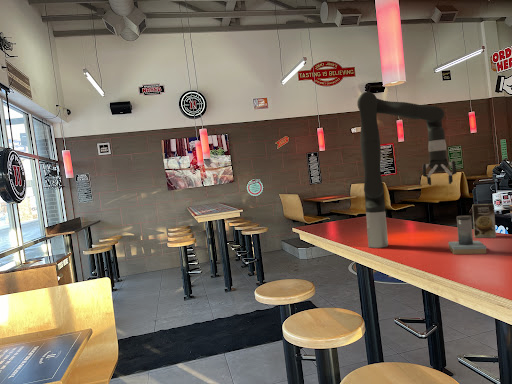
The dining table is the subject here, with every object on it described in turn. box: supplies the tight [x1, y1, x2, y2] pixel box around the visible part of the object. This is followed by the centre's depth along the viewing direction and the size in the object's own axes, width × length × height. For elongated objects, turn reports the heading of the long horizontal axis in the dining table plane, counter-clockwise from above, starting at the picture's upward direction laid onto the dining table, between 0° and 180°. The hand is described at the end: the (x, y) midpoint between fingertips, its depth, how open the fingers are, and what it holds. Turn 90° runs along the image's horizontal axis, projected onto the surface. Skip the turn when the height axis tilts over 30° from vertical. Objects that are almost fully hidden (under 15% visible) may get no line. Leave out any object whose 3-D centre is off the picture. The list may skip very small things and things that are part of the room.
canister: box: [456, 215, 474, 245], centre depth 160 cm, size 6×6×12 cm
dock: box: [448, 240, 487, 255], centre depth 160 cm, size 12×12×3 cm
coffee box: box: [472, 203, 497, 239], centre depth 186 cm, size 9×6×16 cm
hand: (440, 184), depth 178 cm, fingers open, 8 cm apart
